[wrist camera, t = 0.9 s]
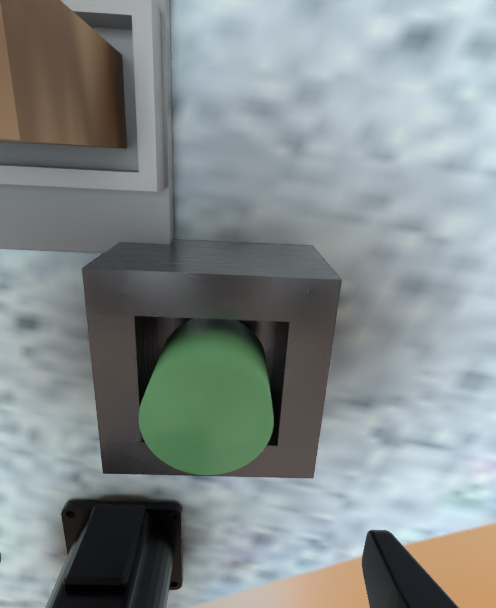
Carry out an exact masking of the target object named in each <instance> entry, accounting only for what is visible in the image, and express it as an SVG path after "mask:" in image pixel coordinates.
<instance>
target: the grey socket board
mask: <svg viewBox="0 0 496 608" xmlns="http://www.w3.org/2000/svg"><path fill="white" fill-rule="evenodd" d="M61 1H62V2H63V3H64V4H65V5H66V6H67V7H69V8H70V9H71V10H72V11H73V12H74V13H75V14H77V15H78V16H79V17H80V18H81V19H82V20H83V21H84V22H86V23H87V24H88V25H89V26H90V27H91V28H92V29H93V30H95V31H96V32H97V33H98V34H99V35H100V36H101V37H103V38H104V39H105V40H106V41H107V42H108V43H109V44H110V45H112V46H113V47H114V48H115V49H116V50H117V51H118V52H120V53H121V54H122V61H123V79H124V98H125V116H126V135H127V149H121V148H103V147H84V146H66V145H48V144H30V143H11V142H0V249H17V250H40V251H62V252H85V253H105V252H106V251H108V250H109V249H110V248H112V247H113V246H115V245H116V244H118V243H119V242H133V243H155V244H170V243H171V242H172V241H173V240H174V220H173V159H172V99H171V38H170V0H61Z"/></svg>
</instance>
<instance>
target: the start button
mask: <svg viewBox="0 0 496 608" xmlns="http://www.w3.org/2000/svg"><path fill="white" fill-rule="evenodd" d="M273 426H274V415H273V408H272V400H271V393H270V385H269V378H268V370H267V363H266V356H265V351H264V348H263V346H262V344H261V342H260V340H259V339H258V337H257V336H256V335H255V334H254V332H253V331H252V330H250V329H249V328H248V327H247V326H245V325H244V324H242V323H240V322H238V321H236V320H230V319H204V318H194V319H191V320H189V321H187V322H185V323H183V324H182V325H180V326H179V327H178V328H176V329H175V330H174V331H173V332H172V333H171V335H170V336H169V337H168V339H167V340H166V342H165V344H164V347H163V349H162V352H161V354H160V357H159V359H158V362H157V364H156V367H155V369H154V372H153V374H152V377H151V379H150V382H149V384H148V387H147V389H146V392H145V394H144V397H143V399H142V402H141V405H140V409H139V427H140V431H141V434H142V437H143V439H144V441H145V443H146V444H147V446H148V447H149V449H150V450H151V451H152V452H153V453H154V454H155V455H156V456H157V457H158V458H159V459H160V460H162V461H163V462H165V463H166V464H168V465H170V466H171V467H173V468H176V469H178V470H181V471H184V472H187V473H192V474H197V475H217V474H224V473H228V472H231V471H234V470H237V469H239V468H241V467H243V466H245V465H247V464H248V463H250V462H252V461H253V460H254V459H255V458H256V457H258V456H259V454H260V453H261V452H262V451H263V450H264V448H265V447H266V446H267V444H268V442H269V440H270V438H271V435H272V432H273Z"/></svg>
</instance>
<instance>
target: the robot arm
mask: <svg viewBox="0 0 496 608" xmlns="http://www.w3.org/2000/svg"><path fill="white" fill-rule="evenodd" d="M61 515H62V521H63V528H64V534H65V540H66V547H67V553H68V556H67V559H66V561H65V563H64V565H63V568H62V570H61V572H60V575H59V577H58V579H57V582H56V584H55V586H54V589H53V591H52V593H51V596H50V598H49V600H48V603H47V605H46V607H45V608H166V604H167V598H168V592H169V590H177V589H179V588H180V587H181V586H182V581H183V539H182V508H181V507H180V505H178V504H174V503H133V502H84V501H71V502H68V503H66V504H65V506H64V508H63V510H62V513H61ZM0 561H1V554H0ZM362 568H363V575H364V580H365V585H366V590H367V594H368V600H369V605H370V608H459V607H458V606H457V605H456V604H455V603H454V602H453V601H452V600H451V598H450V597H449V596H448V595H447V594H446V593H445V592H444V591H443V590H442V589H441V587H440V586H439V585H438V584H437V583H436V582H435V581H434V580H433V579H432V578H431V577H430V575H429V574H428V573H427V572H426V571H425V570H424V569H423V568H422V567H421V565H420V564H419V563H418V562H417V561H416V560H415V559H414V558H413V557H412V556H411V554H410V553H409V552H408V551H407V550H406V549H405V548H404V547H403V545H402V544H401V543H400V542H399V541H398V540H397V539H396V538H395V537H394V536H393V534H392V533H390V532H389V531H386V530H370V531H369V532H368V533H367V536H366V541H365V546H364V551H363V556H362Z"/></svg>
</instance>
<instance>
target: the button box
mask: <svg viewBox="0 0 496 608" xmlns="http://www.w3.org/2000/svg"><path fill="white" fill-rule="evenodd" d="M82 273H83V283H84V293H85V302H86V312H87V322H88V332H89V341H90V351H91V361H92V371H93V380H94V390H95V400H96V409H97V419H98V429H99V439H100V448H101V458H102V468H103V473H105V474H149V475H192V476H235V477H278V478H313V477H314V470H315V463H316V456H317V449H318V442H319V435H320V428H321V421H322V414H323V407H324V400H325V393H326V386H327V378H328V371H329V364H330V357H331V350H332V343H333V336H334V329H335V322H336V315H337V308H338V301H339V294H340V287H341V278H340V277H339V276H338V275H337V274H336V272H335V271H334V270H333V269H332V268H331V267H330V265H329V264H328V263H327V262H326V261H325V259H324V258H323V257H322V256H321V255H320V253H319V252H318V251H317V250H316V249H315V248H314V246H308V245H286V244H264V243H243V242H221V241H199V240H178V239H174V240H173V241H172V242H171V243H170V244H155V243H133V242H119V243H118V244H116V245H115V246H113V247H112V248H110V249H109V250H108V251H106V252H105V253H103V254H102V255H100V256H99V257H98V258H96V259H95V260H93V261H92V262H90V263H89V264H88V265H86V266H85V267H83V268H82ZM194 318H204V319H230V320H236V321H238V322H240V323H242V324H244V325H245V326H247V327H248V328H249V329H250V330H252V331H253V332H254V334H255V335H256V336H257V337H258V339H259V340H260V342H261V344H262V346H263V348H264V351H265V356H266V363H267V370H268V378H269V385H270V393H271V400H272V408H273V415H274V426H273V432H272V435H271V438H270V440H269V442H268V444H267V446H266V447H265V448H264V450H263V451H262V452H261V453H260V454H259V456H258V457H256V458H255V459H254V460H253V461H252V462H250V463H248V464H247V465H245V466H243V467H241V468H239V469H237V470H234V471H231V472H228V473H224V474H217V475H197V474H192V473H187V472H184V471H181V470H178V469H176V468H173V467H171V466H170V465H168V464H166V463H165V462H163V461H162V460H160V459H159V458H158V457H157V456H156V455H155V454H154V453H153V452H152V451H151V450H150V449H149V447H148V446H147V444H146V443H145V441H144V439H143V437H142V434H141V431H140V427H139V409H140V405H141V402H142V399H143V397H144V394H145V392H146V389H147V387H148V384H149V382H150V379H151V377H152V374H153V372H154V369H155V367H156V364H157V362H158V359H159V357H160V354H161V352H162V349H163V347H164V344H165V342H166V340H167V339H168V337H169V336H170V335H171V333H172V332H173V331H174V330H175V329H176V328H178V327H179V326H180V325H182V324H183V323H185V322H187V321H189V320H191V319H194Z"/></svg>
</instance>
